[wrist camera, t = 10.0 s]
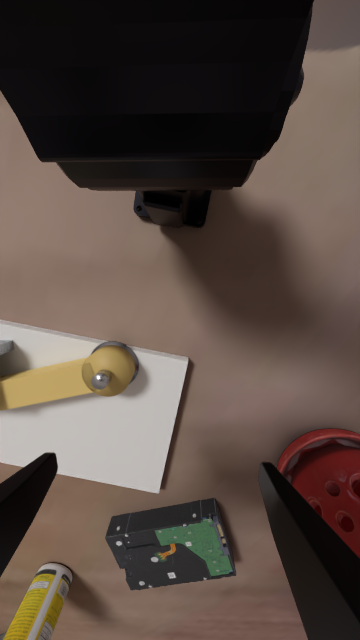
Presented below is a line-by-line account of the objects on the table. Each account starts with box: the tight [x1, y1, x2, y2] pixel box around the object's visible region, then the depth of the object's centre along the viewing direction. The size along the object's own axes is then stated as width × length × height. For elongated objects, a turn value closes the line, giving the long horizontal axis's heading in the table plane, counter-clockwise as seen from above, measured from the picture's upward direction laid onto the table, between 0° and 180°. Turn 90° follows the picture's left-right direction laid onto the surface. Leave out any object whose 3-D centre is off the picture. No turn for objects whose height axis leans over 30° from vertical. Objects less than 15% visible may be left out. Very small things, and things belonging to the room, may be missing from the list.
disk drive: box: [105, 498, 236, 590], centre depth 24 cm, size 10×3×15 cm
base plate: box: [0, 320, 188, 494], centre depth 21 cm, size 18×26×1 cm
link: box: [0, 345, 135, 411], centre depth 18 cm, size 16×5×2 cm, turn 103°
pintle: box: [91, 341, 139, 390], centre depth 17 cm, size 5×5×3 cm
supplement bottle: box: [3, 563, 72, 640], centre depth 23 cm, size 5×5×10 cm
